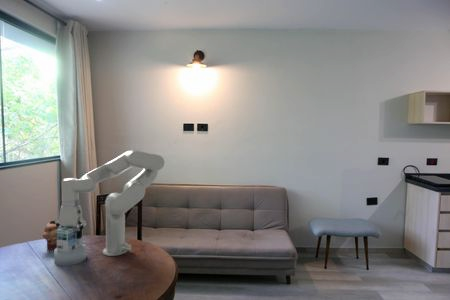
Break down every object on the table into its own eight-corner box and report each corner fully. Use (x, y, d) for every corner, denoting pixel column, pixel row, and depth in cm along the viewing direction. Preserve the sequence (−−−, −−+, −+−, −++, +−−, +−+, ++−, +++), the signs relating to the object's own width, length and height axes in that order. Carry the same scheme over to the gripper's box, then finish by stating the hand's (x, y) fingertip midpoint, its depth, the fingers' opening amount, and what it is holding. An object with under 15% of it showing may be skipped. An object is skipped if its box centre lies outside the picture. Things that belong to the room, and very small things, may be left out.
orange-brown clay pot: (63, 238, 173) (63, 215, 172) (81, 240, 171) (81, 217, 170) (35, 251, 153) (35, 225, 152) (56, 253, 151) (56, 227, 150)
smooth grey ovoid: (92, 255, 150) (92, 244, 150) (73, 267, 137) (73, 255, 136) (68, 253, 153) (68, 241, 153) (47, 264, 139) (47, 252, 139)
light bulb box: (68, 252, 139) (67, 230, 138) (56, 251, 140) (55, 229, 140) (83, 244, 149) (83, 224, 149) (72, 243, 151) (71, 223, 150)
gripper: (90, 202, 146) (91, 236, 146) (60, 200, 149) (60, 233, 150) (80, 206, 138) (81, 241, 139) (49, 203, 141) (49, 238, 142)
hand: (70, 237), depth 144 cm, fingers open, 9 cm apart
